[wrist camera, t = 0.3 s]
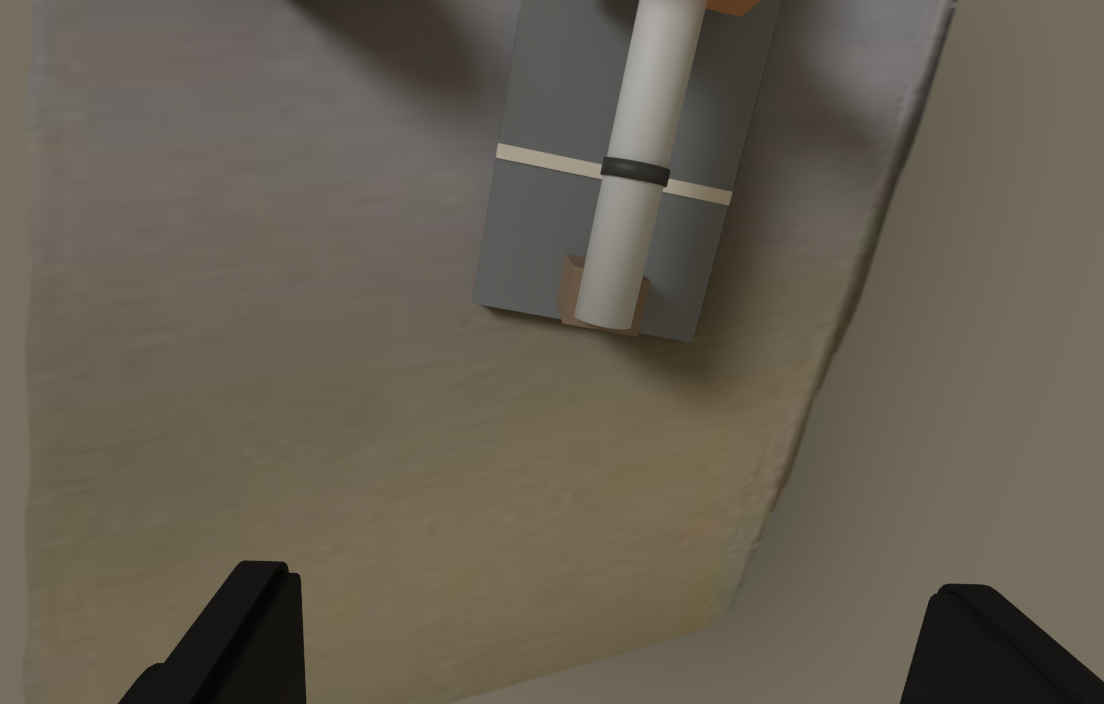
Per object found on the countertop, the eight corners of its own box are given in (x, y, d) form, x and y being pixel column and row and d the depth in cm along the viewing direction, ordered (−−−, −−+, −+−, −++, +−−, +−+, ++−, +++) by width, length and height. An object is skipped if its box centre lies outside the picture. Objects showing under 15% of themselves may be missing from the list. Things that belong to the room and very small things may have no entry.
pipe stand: (552, -184, 31) (565, -331, 22) (803, -117, 33) (908, -231, 24) (474, 298, 38) (460, 332, 29) (686, 337, 39) (734, 380, 30)
